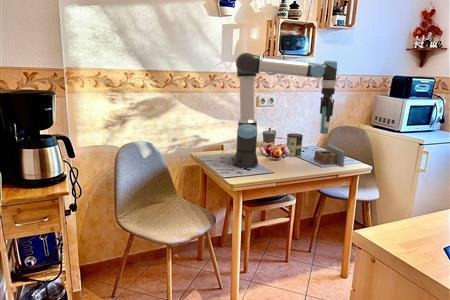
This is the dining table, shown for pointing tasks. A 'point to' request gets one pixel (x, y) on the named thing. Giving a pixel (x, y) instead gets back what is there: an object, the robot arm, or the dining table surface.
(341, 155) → the wall
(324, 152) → the socket block
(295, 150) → the coffee can
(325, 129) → the dowel
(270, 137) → the coffeepot
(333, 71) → the robot arm
